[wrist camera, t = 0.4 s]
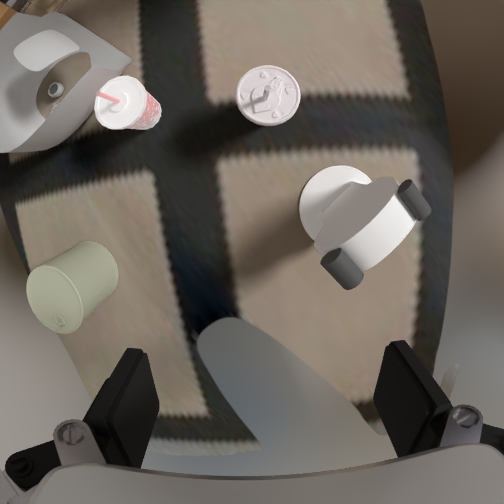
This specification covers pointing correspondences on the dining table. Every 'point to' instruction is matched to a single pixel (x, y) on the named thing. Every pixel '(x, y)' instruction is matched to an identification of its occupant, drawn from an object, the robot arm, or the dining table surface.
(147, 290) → the dining table surface
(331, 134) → the dining table surface
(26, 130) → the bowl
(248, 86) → the smoothie
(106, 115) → the beverage cup
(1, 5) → the block
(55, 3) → the bracket
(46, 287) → the can
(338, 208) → the panda figurine
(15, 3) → the shaft
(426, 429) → the robot arm
